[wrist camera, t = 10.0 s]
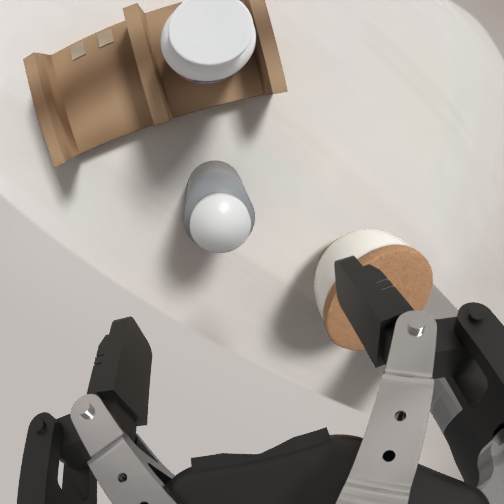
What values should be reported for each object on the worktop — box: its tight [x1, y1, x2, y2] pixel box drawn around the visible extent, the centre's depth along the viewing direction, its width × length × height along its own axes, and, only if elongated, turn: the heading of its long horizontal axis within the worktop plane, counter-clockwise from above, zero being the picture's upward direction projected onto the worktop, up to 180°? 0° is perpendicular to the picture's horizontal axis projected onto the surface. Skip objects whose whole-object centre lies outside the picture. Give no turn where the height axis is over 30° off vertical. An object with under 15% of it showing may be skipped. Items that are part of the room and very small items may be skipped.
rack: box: [23, 0, 287, 167], centre depth 18 cm, size 9×17×4 cm, turn 103°
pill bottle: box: [161, 0, 256, 85], centre depth 15 cm, size 5×5×9 cm
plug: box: [184, 161, 255, 253], centre depth 22 cm, size 4×4×8 cm
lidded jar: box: [314, 229, 433, 350], centre depth 27 cm, size 11×11×9 cm
